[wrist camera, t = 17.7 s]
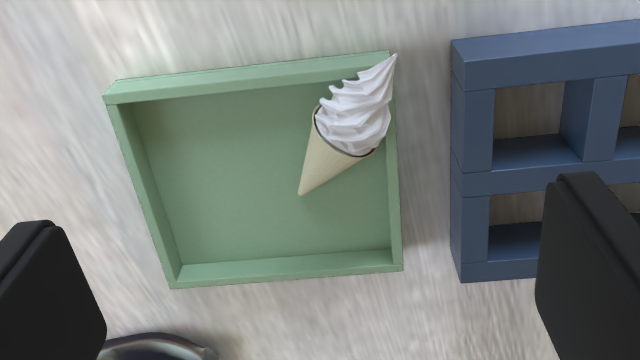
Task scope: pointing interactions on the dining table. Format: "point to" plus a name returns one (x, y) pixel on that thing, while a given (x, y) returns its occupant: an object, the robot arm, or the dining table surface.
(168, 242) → the shallow green box
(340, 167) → the ice cream cone
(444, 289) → the dining table surface
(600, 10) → the dining table surface
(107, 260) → the dining table surface
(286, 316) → the dining table surface
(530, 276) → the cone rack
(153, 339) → the avocado toast plate
